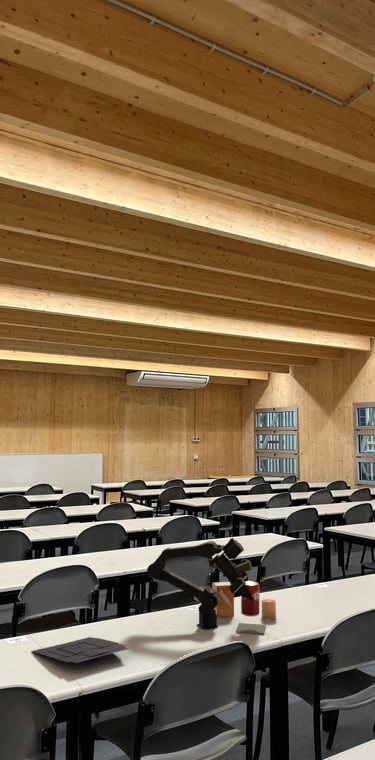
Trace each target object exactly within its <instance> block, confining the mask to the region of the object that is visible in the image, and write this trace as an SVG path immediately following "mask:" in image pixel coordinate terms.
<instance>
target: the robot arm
mask: <svg viewBox="0 0 375 760" xmlns="http://www.w3.org/2000/svg"><path fill="white" fill-rule="evenodd" d="M244 551H245V549H244V547H243V545H242V544H241V543H240V542H238V540H236V539H234V538H233V537H232V538H230V539H229V540H228V542H227V543H226V544H225V545H223V544H219V543H218V544H217V543H216V542H215V541H214V540H209V541H206V542H203V543H200V544H197V545H190V546H181V547H179V546H178V547H166V548H165V549H163V550H162V551H161V553H160V555H159V556H158V557H157V558H156V559H155V560H154V561H153V562H152V563H150V564H149V565H148V567H147V569H146V574H147V576H148V577H149V578H151V579H154V580H157V581H161V582H166V583H168V584H170V585H172V586H174V587H176V588H177V589H180V590H181V591H183V592H185V593H186V594H189V595H190V596H192V597H194V598H196V599H197V601H198V602H199V603H200V605H199V606H198V607H197V609H198V623H196V626H197V627H200V628H201V629H203V630H210V629H215V628H219V625H218V617H217V614H216V610H214V608H215V607H216V606H217V605H218V603H219V602H220V595H219V593H218V592H217V591H216V589H212V587H211V586H209V585H206V586H205V587H201V586H199V585H197V584H195V583H193V582H192V581H190V580H188V579H186V578H184V577H182V576H180V575H178V574H176V573H175V572H173V571H171V570H170V568H169V567H168V566H167V563H169V560H170V559H175V558H185V557H200V558H209V560H208V562H209V564H208V567H210V568H211V567H213V565H214V566H215V567H216V568H217V569H218V570H219V571H220V572H221V574H222V577H223V578H226V579H227V580H228V582H230V584H231V585H230V586H229V590H230V591H231V592H232V593H234V595H238V596H240V597H241V596H243V597H245V598H247V599H249V600H251V601H252V600H253V599H254V598H253V597H252V595H251V594H250V592H249V591H248V589H247V588H246V581H250V580H249V577H250V575H249V572H250V571H253V568H254V567H253V566H252V564H251V561H250V560H248V559H246V558H244V559H242V560H241V563H239V564H238V565H237V564H236V563H233V562H232V561H231V560H236V559H237V557H239V556H240V554H242V552H244ZM220 553H221V554H220ZM219 554H220V555H219ZM212 557H213V558H212Z"/></svg>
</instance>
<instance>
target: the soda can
mask: <svg viewBox="0 0 375 760" xmlns="http://www.w3.org/2000/svg"><path fill="white" fill-rule="evenodd" d="M246 588H247V589H248V591H249V592H250V594H251V595H252V597H253V598H254V599H253V600H252V601H251V600H249V599H247V598H245V597H243V596H240V607H241V608H240V612H241V614H242V615H243V616H244V617H250V618H251V617H253V618H254V617H257V616H259V615H260V612H261V611H260V584H259V582H257V581H252V580H251V581H250V580H249V581H246Z"/></svg>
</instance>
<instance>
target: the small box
mask: <svg viewBox="0 0 375 760" xmlns="http://www.w3.org/2000/svg"><path fill="white" fill-rule="evenodd" d="M230 585H231V584H230V581H221V582H220V581H219V582H212V587H211V588H212V589H216V591H217V592H218V593H219V595H220V602H219V603H218V605H217V606H216V607H215V608H214V610H216V614H217V618H219V617H234V616H235V593H232V592H231V591H230V590H229V586H230Z"/></svg>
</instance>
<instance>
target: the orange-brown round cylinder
mask: <svg viewBox="0 0 375 760" xmlns="http://www.w3.org/2000/svg"><path fill="white" fill-rule="evenodd" d="M276 603H277V602H276V600H275V599H271V598H270V599H269V598H266V599H265V598H264V599H262V600H261V619H262V620H266V621H274V620H276V619H277V610H276V609H277V608H276V607H277V604H276Z"/></svg>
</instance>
